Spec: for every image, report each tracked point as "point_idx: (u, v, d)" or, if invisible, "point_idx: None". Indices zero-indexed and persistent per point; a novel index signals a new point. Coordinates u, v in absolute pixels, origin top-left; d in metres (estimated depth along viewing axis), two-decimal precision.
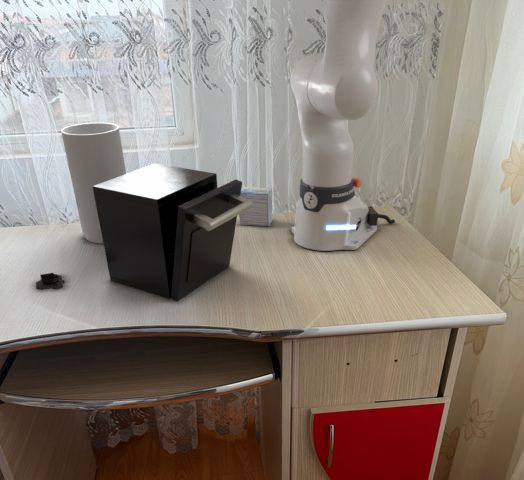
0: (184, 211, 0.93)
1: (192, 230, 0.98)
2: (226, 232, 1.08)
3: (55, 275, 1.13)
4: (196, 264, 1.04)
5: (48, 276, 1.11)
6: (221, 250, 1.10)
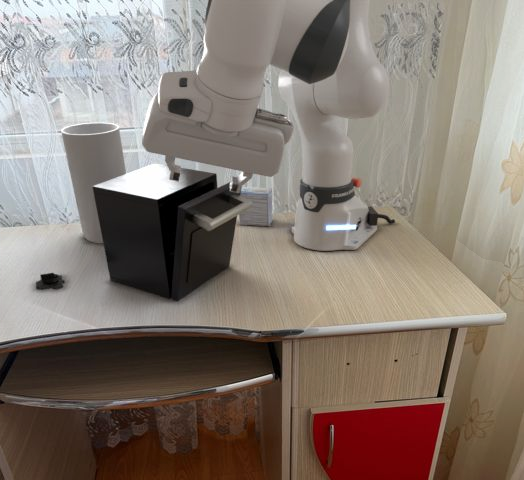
0: (184, 211, 0.93)
1: (192, 230, 0.98)
2: (226, 232, 1.08)
3: (55, 275, 1.13)
4: (196, 264, 1.04)
5: (48, 276, 1.11)
6: (221, 250, 1.10)
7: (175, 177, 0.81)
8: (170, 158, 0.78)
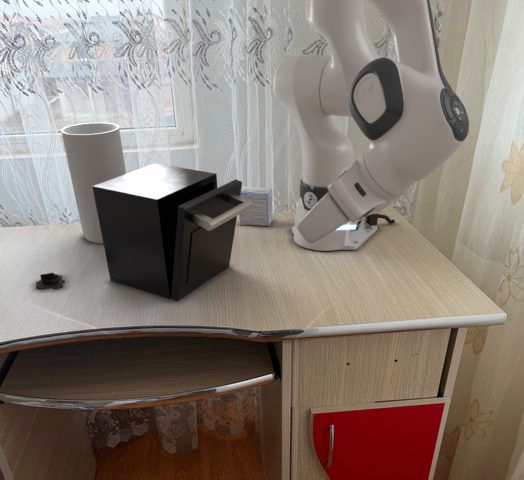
0: (184, 211, 0.93)
1: (192, 230, 0.98)
2: (226, 232, 1.08)
3: (55, 275, 1.13)
4: (196, 264, 1.04)
5: (48, 276, 1.11)
6: (221, 250, 1.10)
7: None
8: None
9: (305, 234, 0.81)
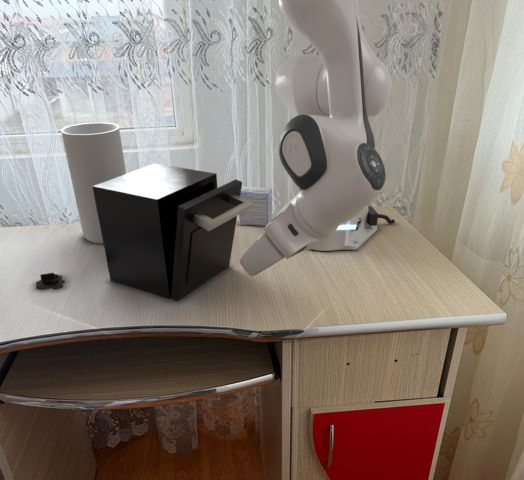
0: (184, 211, 0.93)
1: (192, 230, 0.98)
2: (226, 232, 1.08)
3: (55, 275, 1.13)
4: (196, 264, 1.04)
5: (48, 276, 1.11)
6: (221, 250, 1.10)
7: None
8: None
9: (246, 268, 0.90)
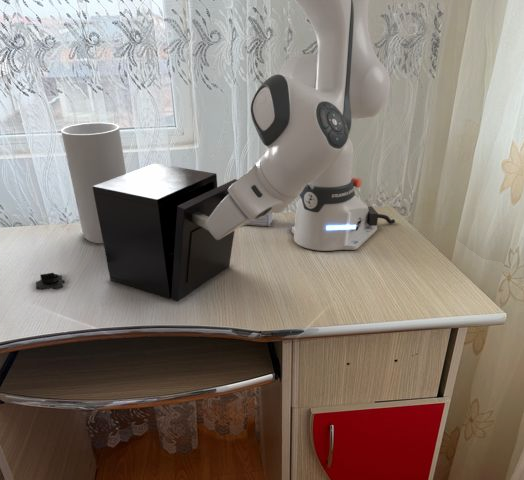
0: (183, 211, 0.93)
1: (192, 230, 0.98)
2: None
3: (55, 275, 1.13)
4: (195, 264, 1.04)
5: (48, 276, 1.11)
6: (221, 250, 1.10)
7: None
8: None
9: (212, 231, 0.90)
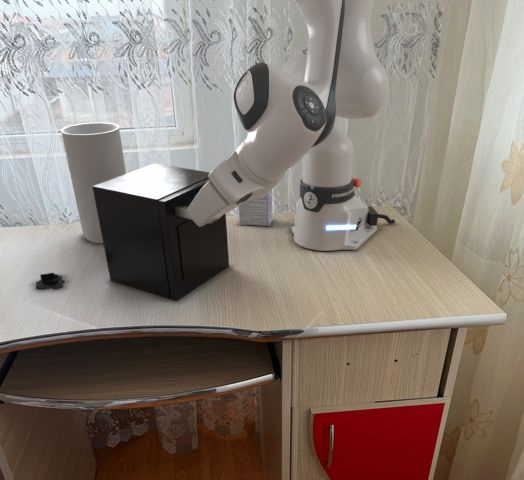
0: (164, 203, 0.94)
1: (178, 224, 0.99)
2: (217, 228, 1.09)
3: (55, 275, 1.13)
4: (189, 260, 1.04)
5: (48, 276, 1.11)
6: (215, 247, 1.11)
7: (213, 220, 1.01)
8: None
9: (194, 218, 0.91)
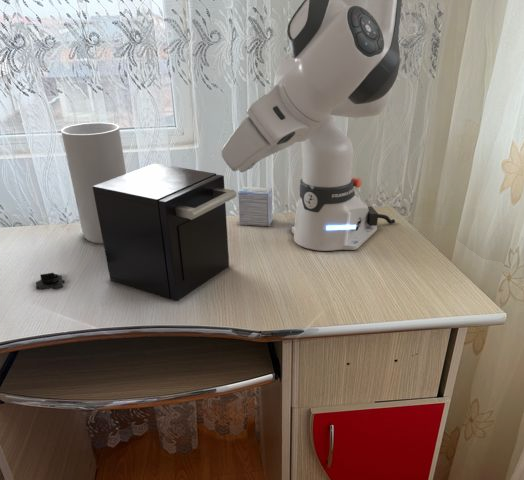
0: (164, 203, 0.94)
1: (178, 224, 0.99)
2: (217, 228, 1.09)
3: (55, 275, 1.13)
4: (189, 260, 1.04)
5: (48, 276, 1.11)
6: (215, 247, 1.11)
7: (245, 169, 0.92)
8: None
9: (228, 160, 0.82)
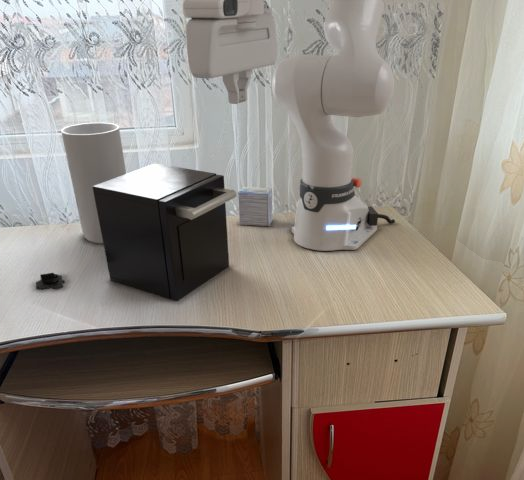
0: (164, 203, 0.94)
1: (178, 224, 0.99)
2: (217, 228, 1.09)
3: (55, 275, 1.13)
4: (189, 260, 1.04)
5: (48, 276, 1.11)
6: (215, 247, 1.11)
7: (239, 98, 0.87)
8: (236, 76, 0.84)
9: (198, 70, 0.77)
